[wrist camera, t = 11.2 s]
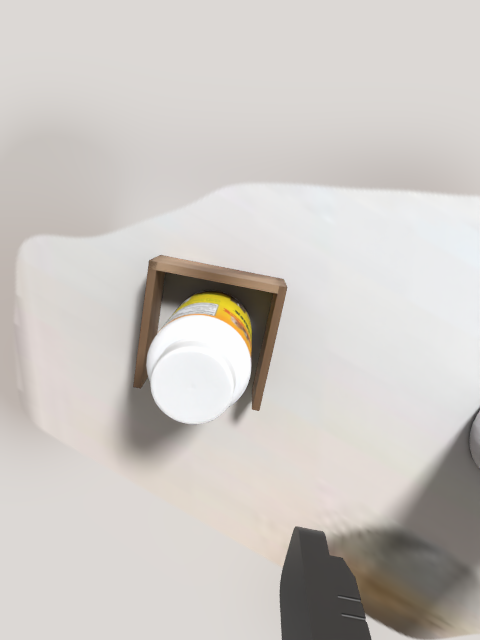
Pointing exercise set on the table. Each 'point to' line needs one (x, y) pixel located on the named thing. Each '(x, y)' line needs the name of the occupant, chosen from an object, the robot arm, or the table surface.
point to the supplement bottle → (201, 358)
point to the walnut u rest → (217, 274)
